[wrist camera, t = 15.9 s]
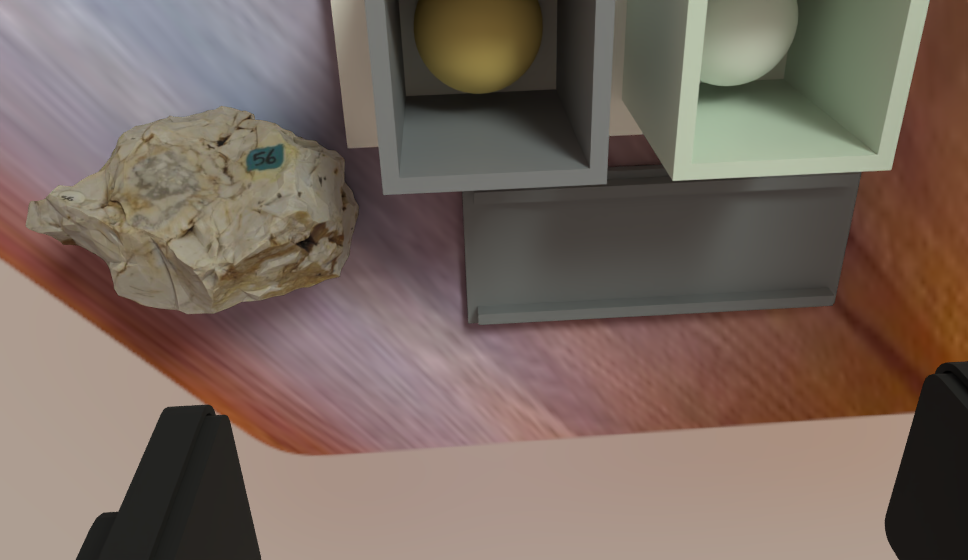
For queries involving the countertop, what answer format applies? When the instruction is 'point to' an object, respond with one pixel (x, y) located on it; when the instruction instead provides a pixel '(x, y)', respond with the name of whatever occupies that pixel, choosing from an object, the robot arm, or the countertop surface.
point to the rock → (208, 212)
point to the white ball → (746, 39)
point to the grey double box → (629, 96)
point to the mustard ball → (478, 41)
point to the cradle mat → (655, 246)
